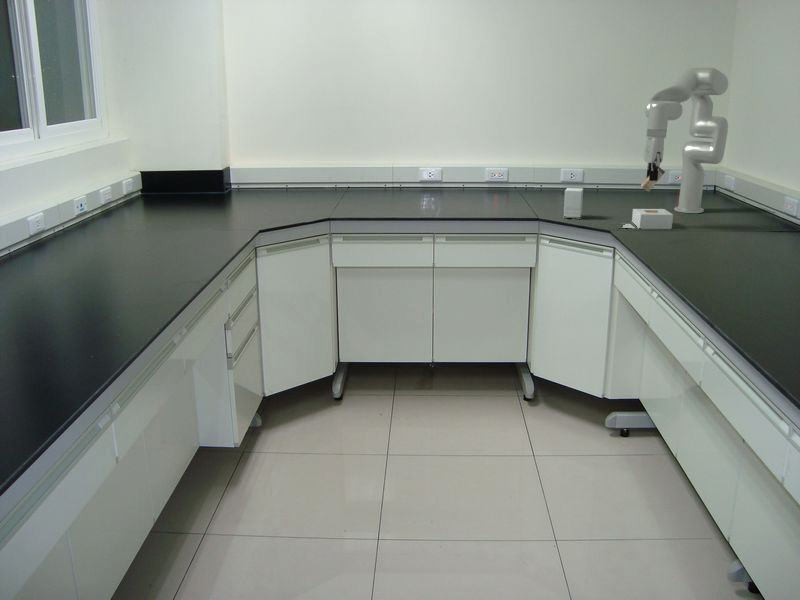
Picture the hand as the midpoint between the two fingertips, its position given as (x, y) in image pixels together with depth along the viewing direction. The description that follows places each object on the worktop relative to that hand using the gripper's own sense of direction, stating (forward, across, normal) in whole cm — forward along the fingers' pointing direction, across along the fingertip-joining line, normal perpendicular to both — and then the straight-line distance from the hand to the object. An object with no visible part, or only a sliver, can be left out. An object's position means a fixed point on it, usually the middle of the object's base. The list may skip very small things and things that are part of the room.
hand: (651, 179), depth 300 cm
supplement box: (+20, -18, -27) cm, 38 cm away
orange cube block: (+19, -1, +2) cm, 19 cm away
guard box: (+19, -1, +2) cm, 20 cm away
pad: (+20, +2, -11) cm, 22 cm away
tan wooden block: (+4, 0, -3) cm, 5 cm away
